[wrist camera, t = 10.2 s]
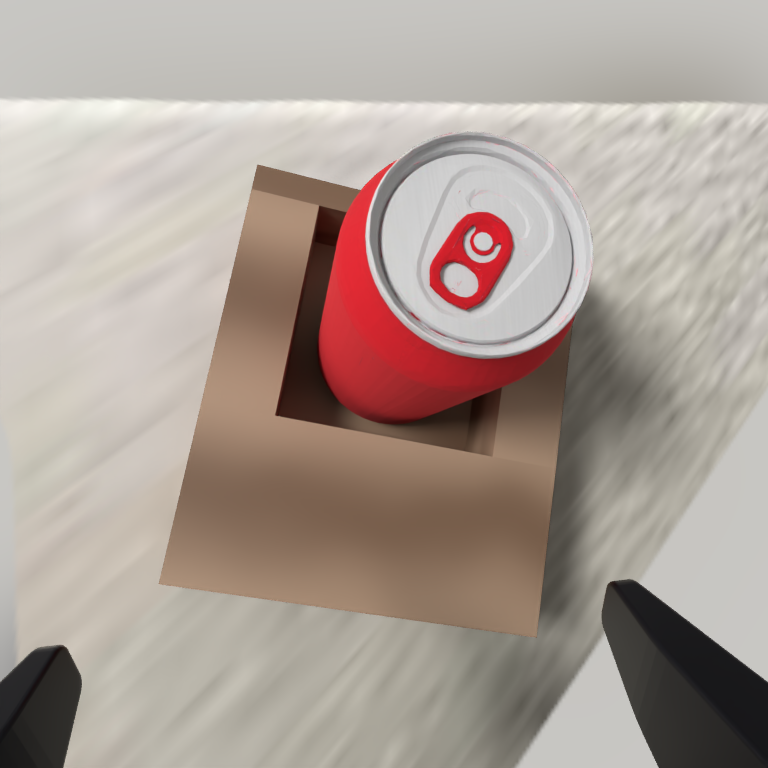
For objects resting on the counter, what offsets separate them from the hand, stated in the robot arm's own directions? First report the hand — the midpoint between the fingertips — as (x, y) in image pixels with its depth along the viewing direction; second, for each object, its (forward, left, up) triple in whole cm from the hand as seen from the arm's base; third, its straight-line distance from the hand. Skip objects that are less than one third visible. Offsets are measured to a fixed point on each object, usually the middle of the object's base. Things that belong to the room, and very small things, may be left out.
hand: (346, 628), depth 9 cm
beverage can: (+8, -2, -13) cm, 16 cm away
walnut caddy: (+6, -2, -14) cm, 15 cm away
